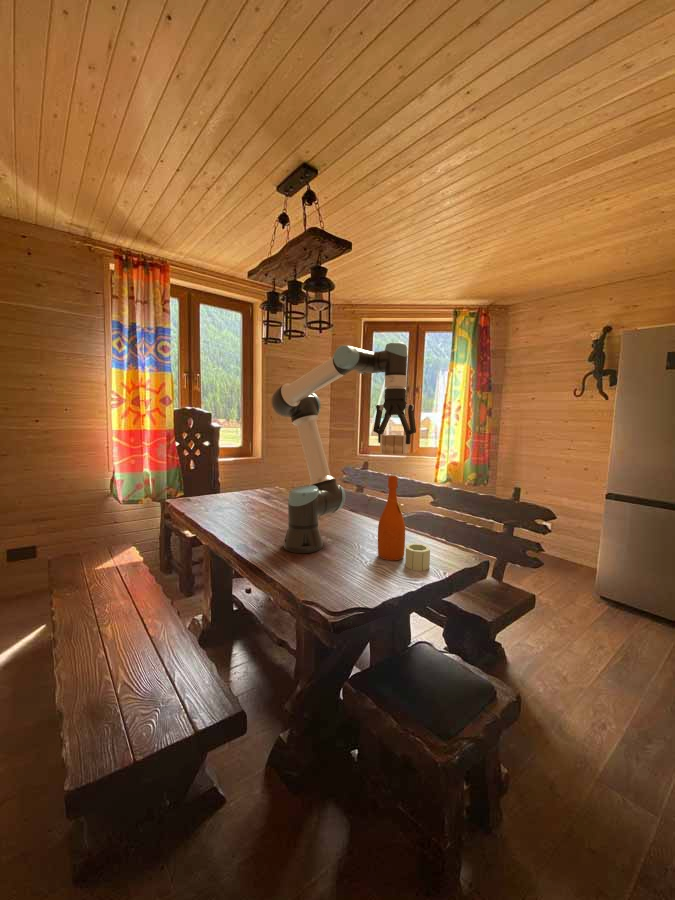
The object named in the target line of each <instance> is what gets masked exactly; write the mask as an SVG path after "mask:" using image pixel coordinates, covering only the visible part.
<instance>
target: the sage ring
mask: <svg viewBox="0 0 675 900" xmlns="http://www.w3.org/2000/svg"><path fill="white" fill-rule="evenodd" d="M430 560H431V548H430V546H429V545H426V544H423V543H415V542H414V543H409V544H406V545H405V564H404V565H405V566H404V567H405V568H407V569H409V570H412V571H419V572H420V571H421V572H422V570H423V572H424V571H427V570H429V569H430V566H431V565H430V564H431V563H430ZM426 569H427V570H426Z"/></svg>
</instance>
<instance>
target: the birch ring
mask: <svg viewBox="0 0 675 900" xmlns="http://www.w3.org/2000/svg"><path fill="white" fill-rule="evenodd" d="M403 435H404V434H385V435H382V452H381V454H384V455H396V456H397V455H398V456H399V455H404V454H403Z"/></svg>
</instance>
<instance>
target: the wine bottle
mask: <svg viewBox="0 0 675 900" xmlns="http://www.w3.org/2000/svg"><path fill="white" fill-rule="evenodd" d="M398 479H399V478H398V476H397V475H392V474H391V475H389V476H388V482H387V484H388V485H387V488H388V495H387V501H386V504H385V506H384V508H383V511H382V513H381V515H380V518H379V520H378V527H377V554H378V557H380V558H381V559H383V560H386V561H393V562H394V561H398V560H399V561H400V560H402V559H403V558H404V557H405V550H406V545H405V544H406V523H405V519H404V516H403V513H402V512H403V508H402V504H401V503H400V501H398V498H397V497H398V495H397V489H398V486H399V485H398V481H399V480H398Z"/></svg>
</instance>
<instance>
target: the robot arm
mask: <svg viewBox="0 0 675 900" xmlns="http://www.w3.org/2000/svg"><path fill="white" fill-rule="evenodd" d="M407 366H408V347H407V344H406V343H404V342H389V343H387V344H385V348H384V350H381V351H370V350H366V349H362V348H358V347H355V346H353V345H345V344H344V345H340V346H338V347H337V348H336V350H335V351H334V353H333V356H332V357H331V358H328V359H327V360H326V361H323V363H321V364H319V365H318V366H316V367H314V368H313V369H312V370H309V371H308V372H307V373H305V374H304V375H302V376H300V377H299V378H297V379H295V380H294V381H292V382H290V383H288V382H287V383H283V384H282V385H281V386H279V387H278V388H277V389H276V390H275V391H274V392H273V393H272V396H271V398H270V400H271V401H270V404H271V407H272V409H273V411H274V412H275V413H276V414H277V415H279V416H280V417H285V418H290V419H291V423H292V425H294V427H296V428H297V432H298V437H299V440H300V444H301V447H302V452H303V454H304V459H305V463H306V467H307V471H308V474H309V479H310V482H309V484H305V485H304V484H303V485H298V486H295V487H293V488H291V489H290V490H289V492H288V498H287V502H288V504H287V506H288V507H287V512H288V513H287V515H288V517H287V518H288V519H287V520H288V521H287V522H288V525H287V531H286V533H285V538H284V540H283V549H284V550H285V551H288V552H290V553H295V554H309V553H310V554H311V553H315V552H317V551H318V552H319V551H321V549H323V546H324V543H323V538H322V535H321V532H320V528H319V517H322V516H327V515H329V514H334V513H336V512H338V511H340V510H341V509H342V508H343V507H344V505H345V502H346V492H345V489H344V487H343V486H341V484H339V483H337V481H336V477H334V476H332V475H331V471H330V467H329V464H328V461H327V457H326V452H325V449H324V444H323V442H322V437H321V435H320V431H319V430H320V429H319V428H318V427H319V426H318V423H317V421H318V419H319V414H320V411H321V410H320V409H321V408H322V407H321V405H322V404H321V400H320V398H319V396H318V395H317V394H316V392H318V391H319V390H322V389H323V388H325V387H327V386H328V385H330V384H331V383H334V382H335V381H337V380H338V379H341V378H342V377H343V376H346V375H348V374H350V373H351V372H353V371H356V372H357V373H359V374H360V375H370V374H377V373H384V388H385V389H384V394H383V395H384V397H383V398H384V399H383V400H384V402H383V404H377V405H375V410H376V413H375V418H374V424H373V428H372V430H373V432H374V433H376V434H377V438H378V439H377V441H378V444H379V453H382V435H386V433H385V431H386V428H387V426H388V423H389V420H390V419H391V417H392V416H398V418H399V420H400V424H401V425H402V428H403V431H404V434H402V435H403V454H402V455H407V454H408V453H409V445H411V442H412V441H411V437H412V435H413V434H416V433H417V427H416V420H415V412H414V411H415V405H414V404H409V403H407V401H406V400H407V390H406V388H407V368H408V367H407ZM384 409H385V413H384V416H383V419H382V415H383V410H384ZM405 410H407V418H408V421H407V418H406V414H405V412H404V411H405ZM408 422H409V423H408Z"/></svg>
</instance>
